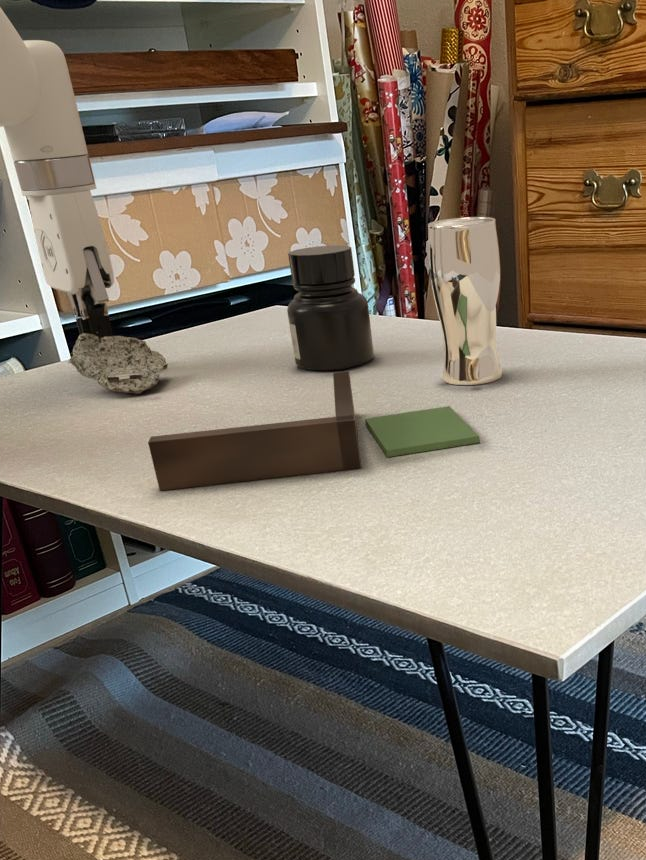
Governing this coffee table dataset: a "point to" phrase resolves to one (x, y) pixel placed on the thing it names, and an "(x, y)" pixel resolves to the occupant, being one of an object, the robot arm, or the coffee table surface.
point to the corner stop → (261, 448)
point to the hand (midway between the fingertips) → (101, 352)
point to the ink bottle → (327, 310)
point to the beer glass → (466, 296)
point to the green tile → (421, 431)
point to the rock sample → (118, 362)
